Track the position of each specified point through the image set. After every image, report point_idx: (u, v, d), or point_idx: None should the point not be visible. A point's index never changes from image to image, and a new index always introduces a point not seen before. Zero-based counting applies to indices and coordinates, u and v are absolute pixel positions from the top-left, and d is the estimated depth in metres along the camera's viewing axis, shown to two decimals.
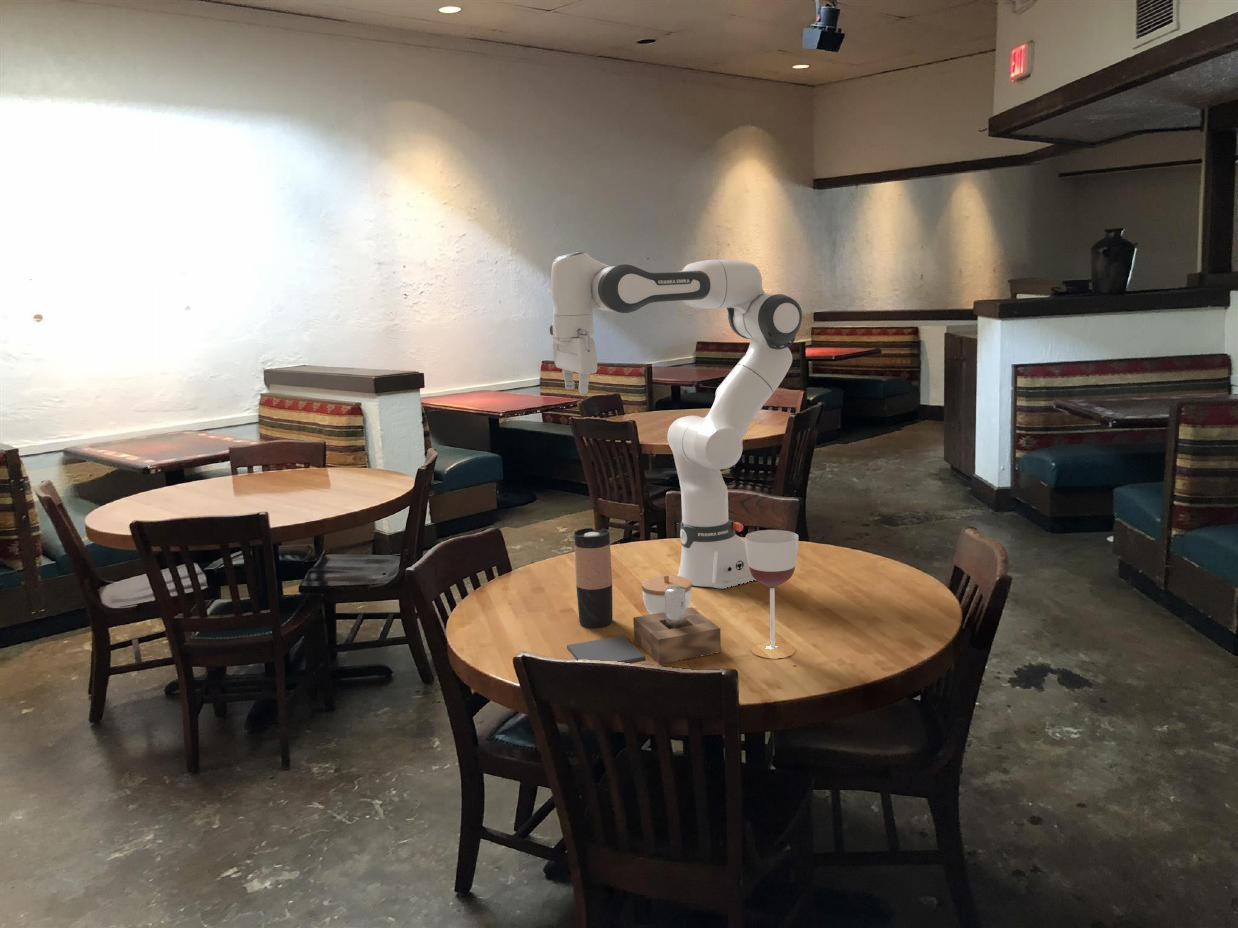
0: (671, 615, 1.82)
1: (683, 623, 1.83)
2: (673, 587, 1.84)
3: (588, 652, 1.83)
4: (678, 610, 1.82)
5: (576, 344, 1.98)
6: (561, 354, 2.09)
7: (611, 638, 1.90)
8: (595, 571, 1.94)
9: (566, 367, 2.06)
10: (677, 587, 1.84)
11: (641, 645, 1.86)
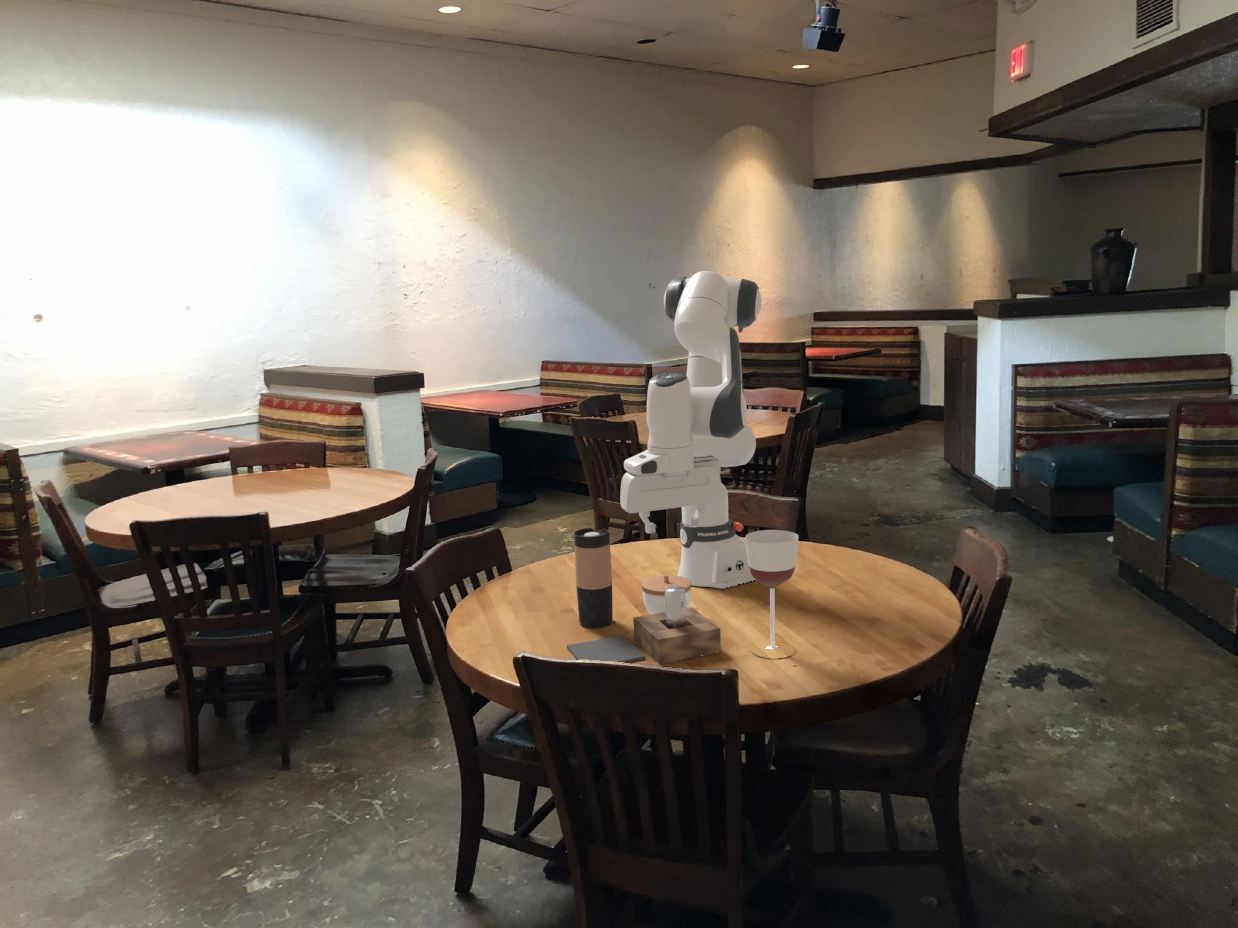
0: (671, 615, 1.82)
1: (683, 623, 1.83)
2: (673, 587, 1.84)
3: (588, 652, 1.83)
4: (678, 610, 1.82)
5: (709, 472, 1.79)
6: (655, 493, 1.76)
7: (611, 638, 1.90)
8: (595, 571, 1.94)
9: (671, 504, 1.78)
10: (676, 587, 1.84)
11: (641, 645, 1.86)
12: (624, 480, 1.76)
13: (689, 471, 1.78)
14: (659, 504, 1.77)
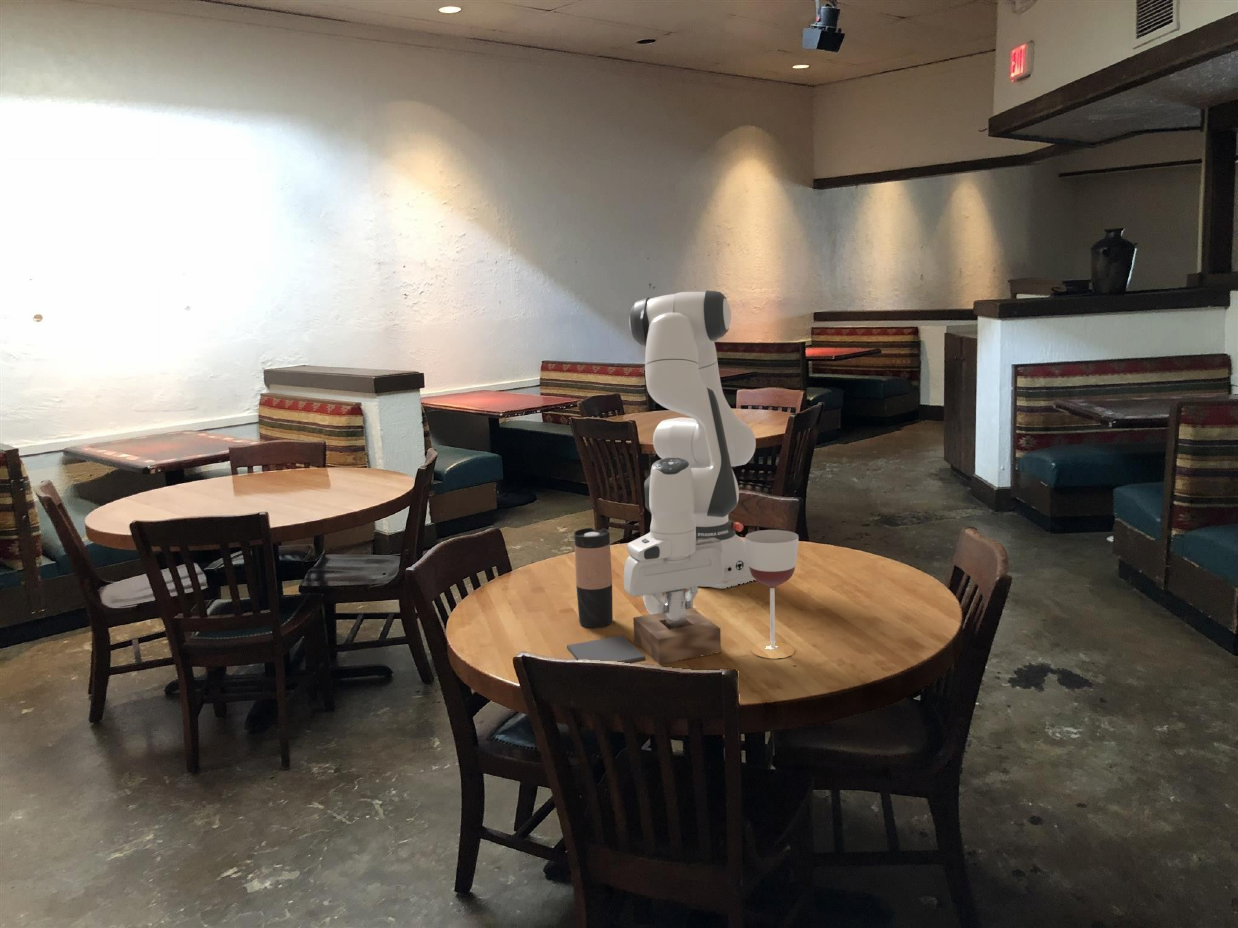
0: (671, 615, 1.82)
1: (683, 623, 1.83)
2: None
3: (588, 652, 1.83)
4: (678, 610, 1.82)
5: (711, 554, 1.83)
6: (658, 577, 1.79)
7: (611, 638, 1.90)
8: (595, 571, 1.94)
9: (673, 587, 1.81)
10: None
11: (641, 645, 1.86)
12: (627, 564, 1.79)
13: (691, 554, 1.81)
14: (662, 587, 1.80)
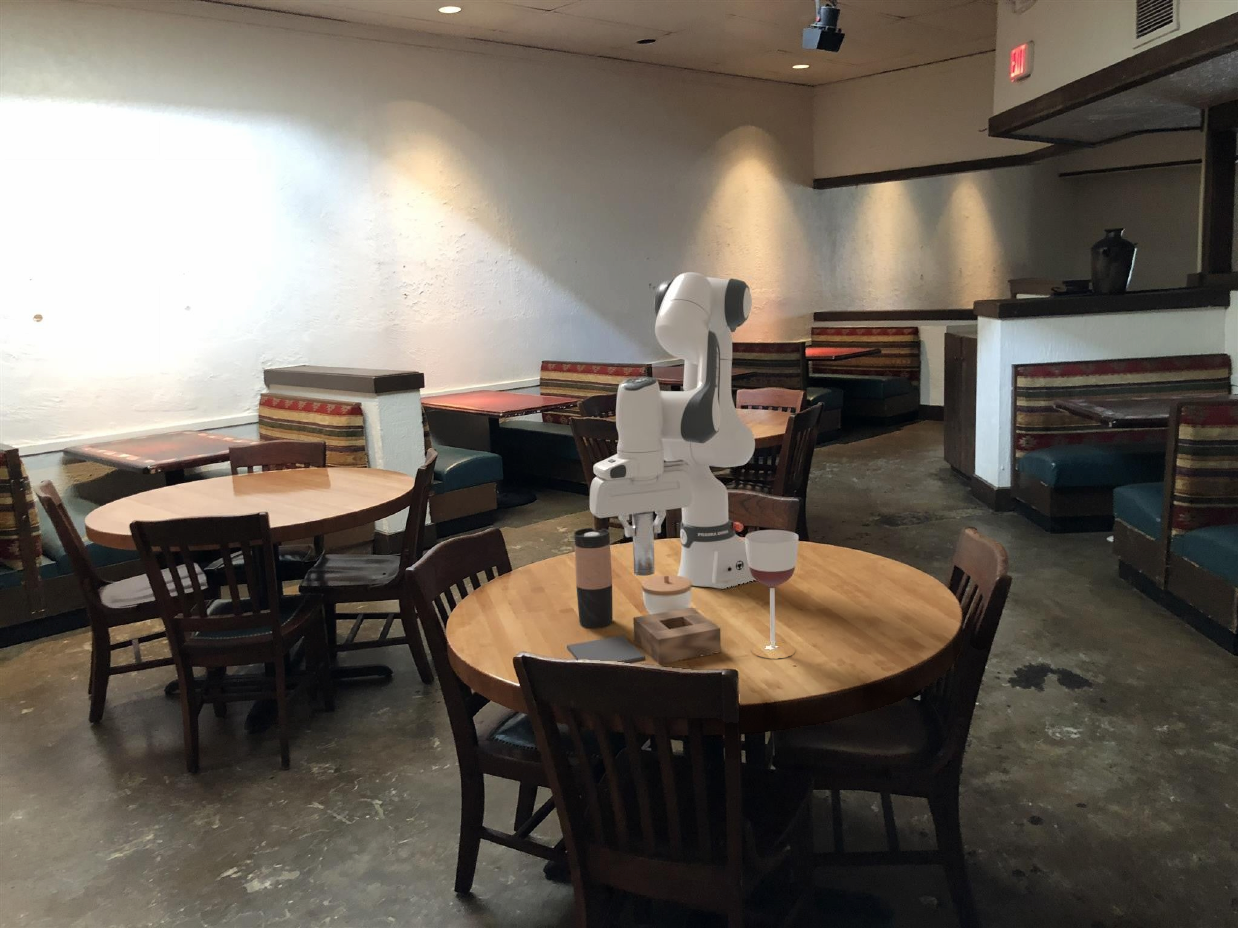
0: (639, 538, 1.78)
1: (651, 547, 1.79)
2: None
3: (588, 652, 1.83)
4: (645, 534, 1.78)
5: (679, 477, 1.79)
6: (624, 498, 1.75)
7: (611, 638, 1.90)
8: (595, 571, 1.94)
9: (640, 509, 1.77)
10: None
11: (641, 645, 1.86)
12: (593, 484, 1.75)
13: (659, 475, 1.77)
14: (628, 509, 1.76)
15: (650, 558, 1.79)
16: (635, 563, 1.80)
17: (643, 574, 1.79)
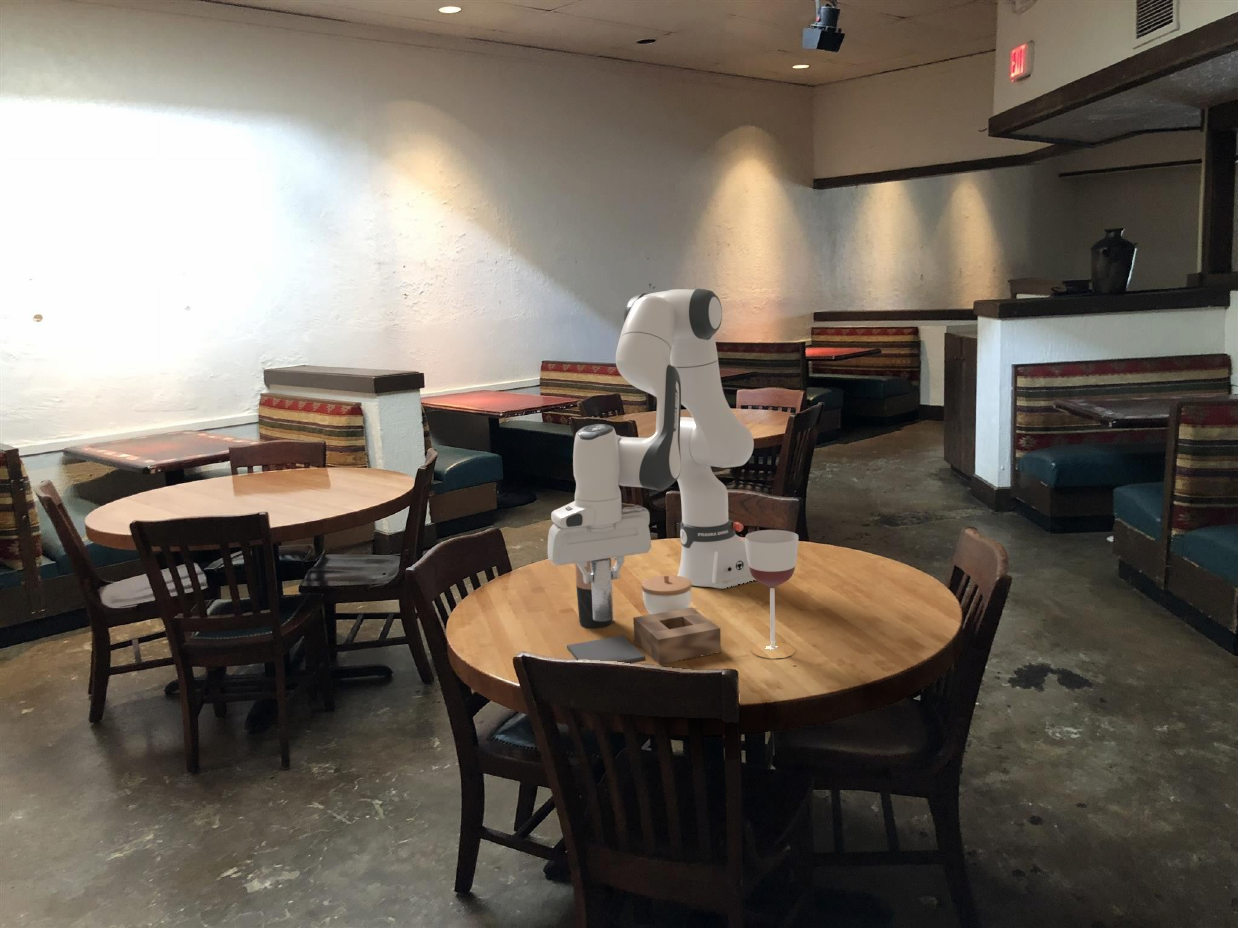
0: (597, 585, 1.79)
1: (609, 593, 1.80)
2: None
3: (588, 652, 1.83)
4: (603, 580, 1.78)
5: (637, 523, 1.79)
6: (581, 545, 1.76)
7: (611, 638, 1.90)
8: None
9: (598, 556, 1.78)
10: None
11: (641, 645, 1.86)
12: (551, 532, 1.76)
13: (616, 522, 1.78)
14: (586, 556, 1.77)
15: (608, 604, 1.80)
16: (593, 609, 1.81)
17: (601, 620, 1.80)
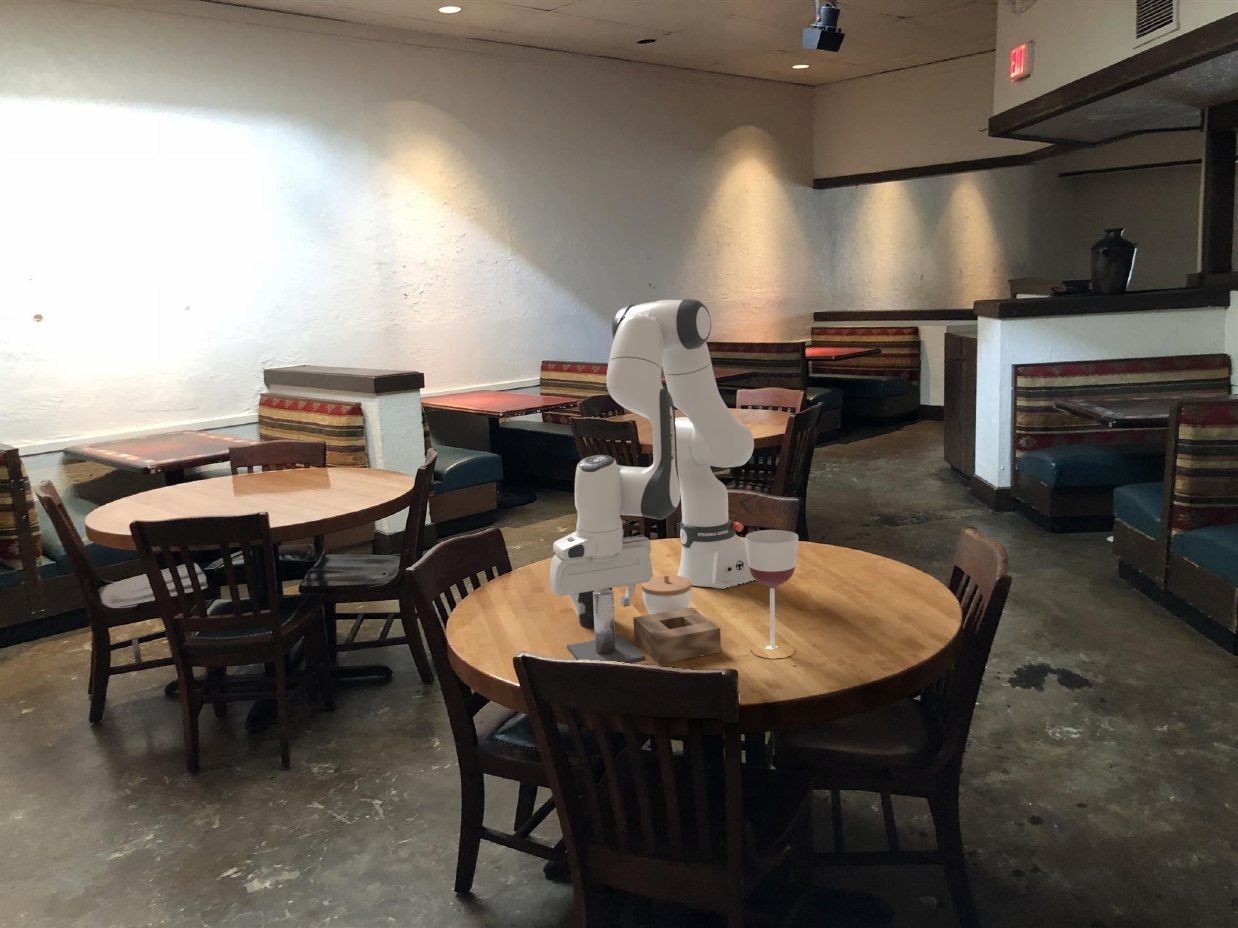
0: (599, 619, 1.80)
1: (611, 627, 1.81)
2: (602, 590, 1.82)
3: (588, 652, 1.83)
4: (606, 614, 1.80)
5: (639, 553, 1.80)
6: (583, 576, 1.77)
7: None
8: None
9: (600, 586, 1.79)
10: (605, 590, 1.82)
11: (641, 645, 1.86)
12: (553, 563, 1.77)
13: (618, 553, 1.79)
14: (588, 586, 1.78)
15: (611, 637, 1.81)
16: (596, 642, 1.82)
17: (604, 653, 1.81)
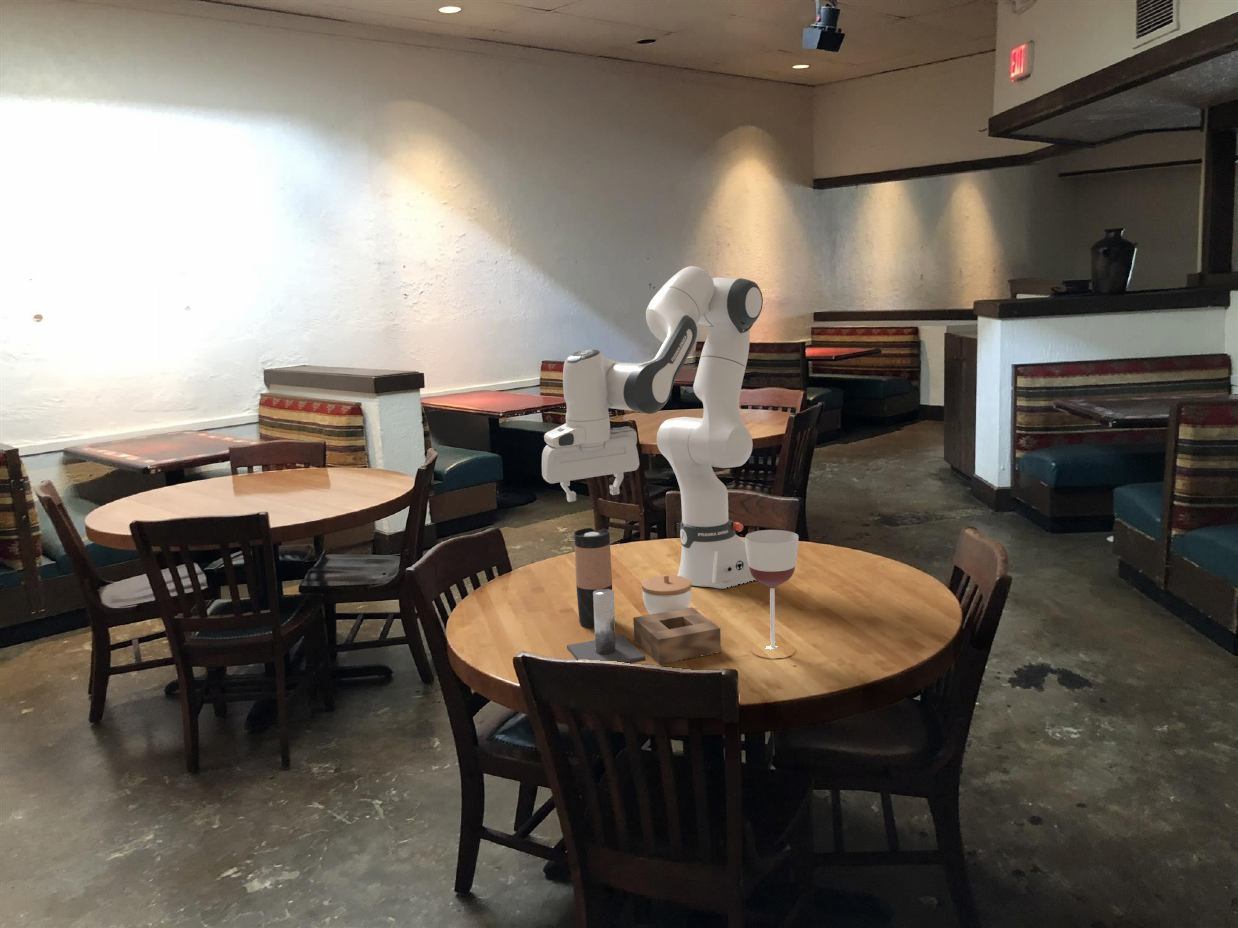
0: (599, 618, 1.80)
1: (612, 626, 1.81)
2: (602, 590, 1.82)
3: (588, 652, 1.83)
4: (606, 614, 1.80)
5: (625, 442, 1.90)
6: (574, 464, 1.87)
7: None
8: (595, 571, 1.94)
9: (589, 474, 1.89)
10: (606, 590, 1.82)
11: (641, 645, 1.86)
12: (544, 452, 1.87)
13: (606, 442, 1.89)
14: (578, 474, 1.88)
15: (611, 637, 1.81)
16: (596, 642, 1.82)
17: (604, 653, 1.81)
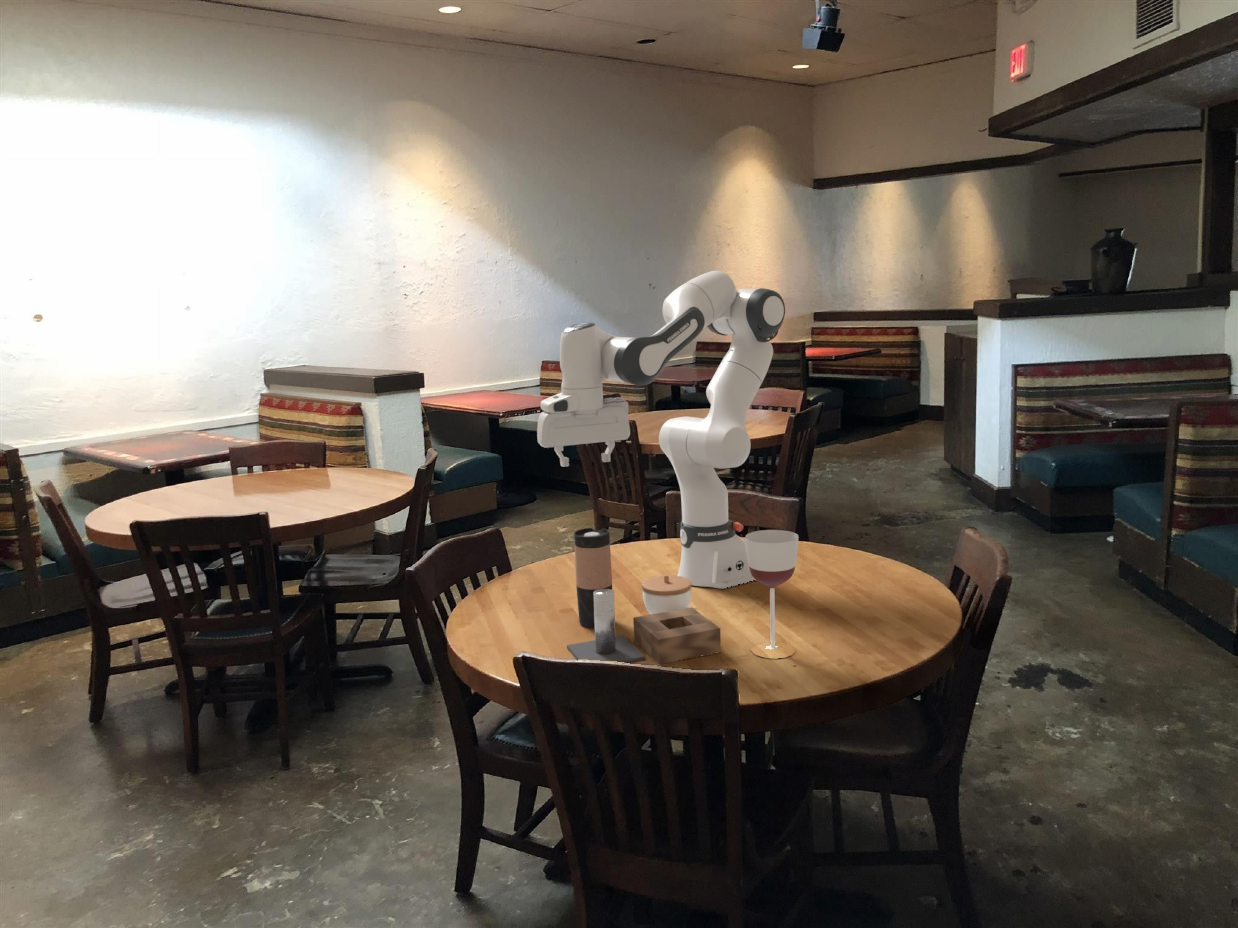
0: (600, 618, 1.80)
1: (612, 626, 1.81)
2: (602, 590, 1.82)
3: (588, 652, 1.83)
4: (606, 614, 1.80)
5: (617, 412, 2.01)
6: (567, 430, 1.98)
7: None
8: (595, 571, 1.94)
9: (582, 440, 1.99)
10: (606, 590, 1.82)
11: (641, 645, 1.86)
12: (540, 418, 1.98)
13: (599, 410, 1.99)
14: (571, 440, 1.98)
15: (611, 637, 1.81)
16: (596, 642, 1.82)
17: (604, 653, 1.81)
